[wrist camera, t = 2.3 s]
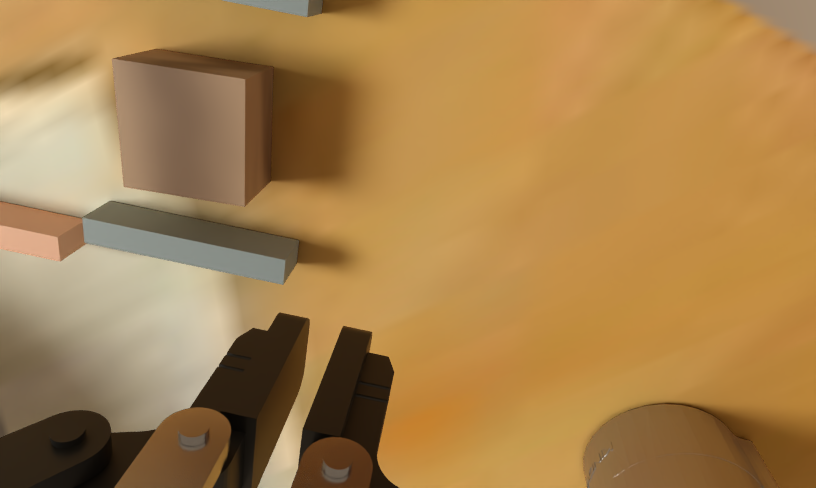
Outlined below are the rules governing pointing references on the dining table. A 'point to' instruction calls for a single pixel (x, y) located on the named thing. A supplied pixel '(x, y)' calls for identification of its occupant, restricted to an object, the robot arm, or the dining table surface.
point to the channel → (199, 237)
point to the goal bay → (39, 232)
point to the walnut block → (194, 125)
